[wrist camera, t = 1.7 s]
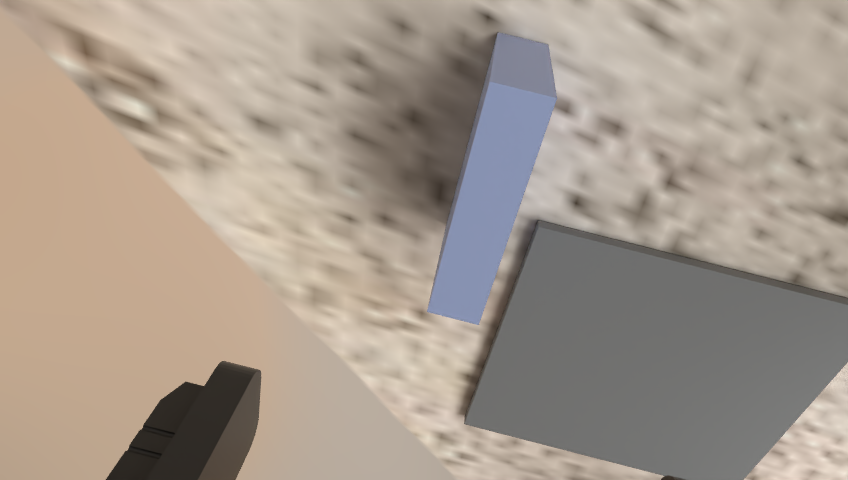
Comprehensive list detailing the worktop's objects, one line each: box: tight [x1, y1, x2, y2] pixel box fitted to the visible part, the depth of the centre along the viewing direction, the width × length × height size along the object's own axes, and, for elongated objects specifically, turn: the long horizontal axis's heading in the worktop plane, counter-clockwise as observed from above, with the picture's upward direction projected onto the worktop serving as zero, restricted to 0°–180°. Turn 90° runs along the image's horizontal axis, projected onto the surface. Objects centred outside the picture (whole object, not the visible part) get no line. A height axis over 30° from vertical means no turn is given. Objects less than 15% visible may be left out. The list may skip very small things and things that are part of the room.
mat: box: [464, 220, 848, 480], centre depth 29 cm, size 16×14×1 cm
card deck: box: [427, 32, 557, 325], centre depth 21 cm, size 2×9×6 cm, turn 168°
